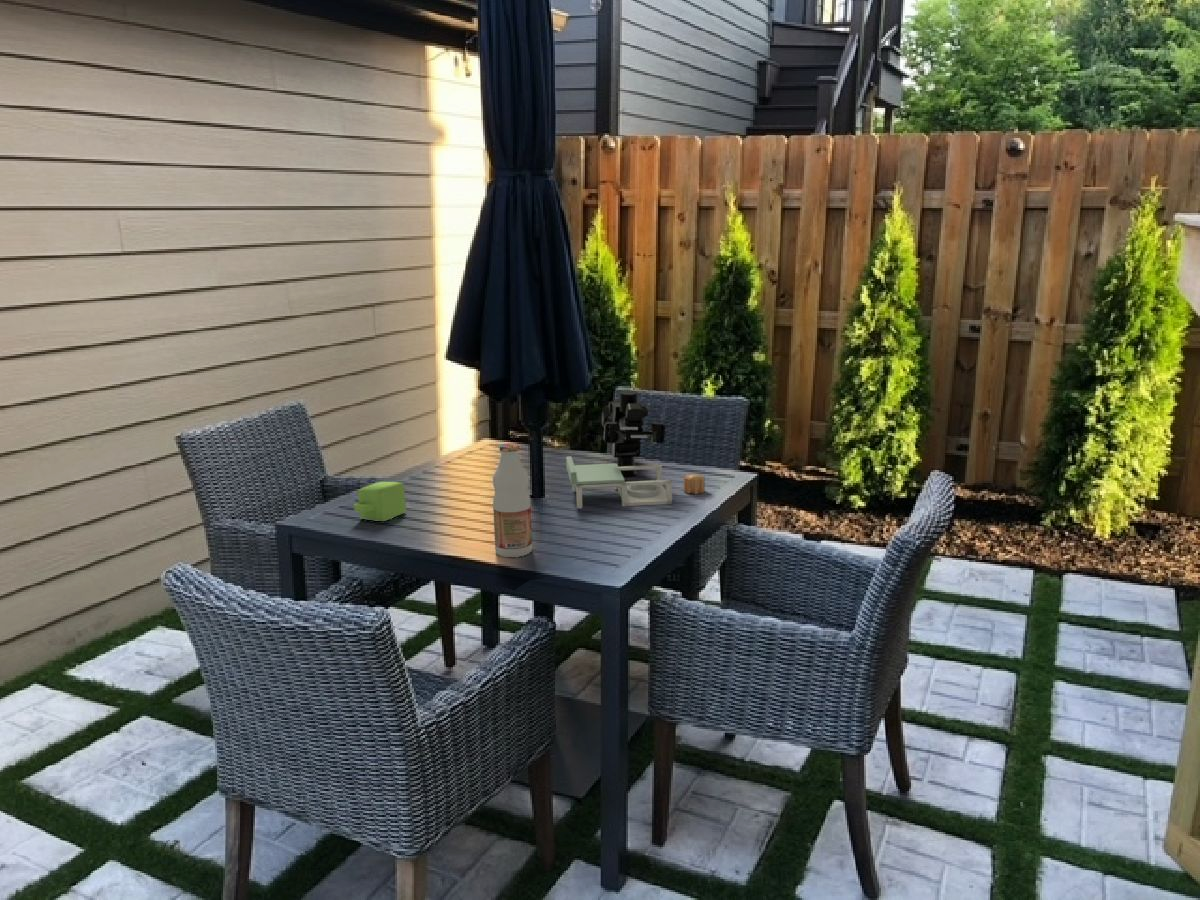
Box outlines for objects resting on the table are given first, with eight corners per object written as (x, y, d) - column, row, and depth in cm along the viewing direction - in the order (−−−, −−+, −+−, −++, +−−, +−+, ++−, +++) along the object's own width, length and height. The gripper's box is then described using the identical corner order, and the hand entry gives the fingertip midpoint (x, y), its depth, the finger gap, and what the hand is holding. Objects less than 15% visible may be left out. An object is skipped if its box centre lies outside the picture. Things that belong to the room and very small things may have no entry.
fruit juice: (487, 553, 242) (482, 446, 235) (514, 543, 249) (509, 439, 242) (513, 561, 236) (509, 451, 229) (540, 550, 243) (536, 444, 236)
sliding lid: (566, 468, 294) (566, 456, 293) (616, 465, 296) (616, 454, 295) (571, 484, 276) (570, 472, 275) (624, 482, 277) (624, 469, 276)
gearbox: (389, 507, 284) (386, 476, 283) (416, 509, 280) (413, 478, 278) (349, 523, 269) (345, 490, 267) (376, 526, 264) (373, 493, 262)
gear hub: (682, 489, 295) (682, 473, 294) (702, 488, 296) (702, 473, 294) (686, 495, 289) (686, 479, 288) (706, 494, 290) (706, 478, 288)
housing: (572, 490, 296) (571, 468, 294) (661, 486, 299) (661, 464, 297) (577, 508, 278) (576, 485, 276) (671, 503, 280) (671, 481, 279)
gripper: (602, 400, 296) (609, 414, 281) (661, 401, 299) (671, 415, 284) (600, 435, 299) (607, 450, 285) (658, 435, 302) (668, 450, 288)
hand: (639, 440), depth 285 cm, fingers open, 9 cm apart
